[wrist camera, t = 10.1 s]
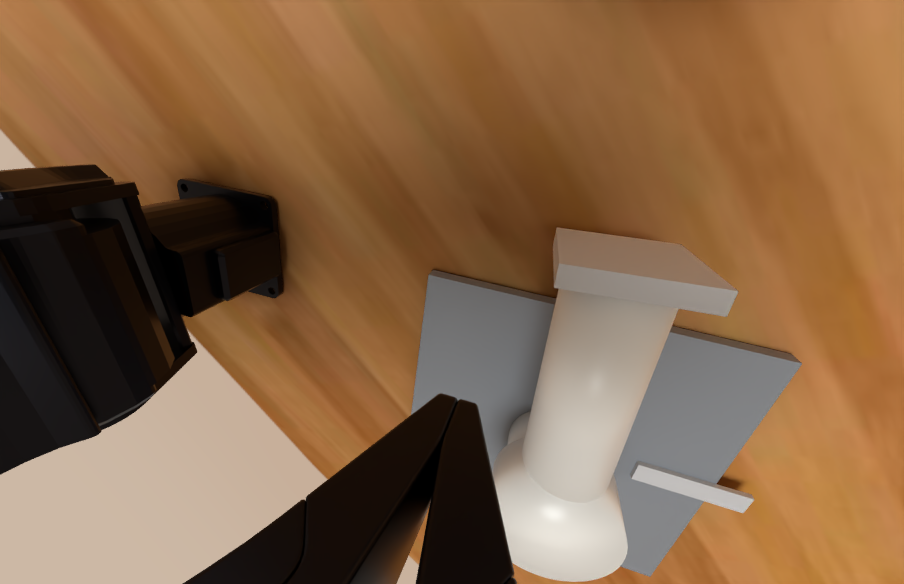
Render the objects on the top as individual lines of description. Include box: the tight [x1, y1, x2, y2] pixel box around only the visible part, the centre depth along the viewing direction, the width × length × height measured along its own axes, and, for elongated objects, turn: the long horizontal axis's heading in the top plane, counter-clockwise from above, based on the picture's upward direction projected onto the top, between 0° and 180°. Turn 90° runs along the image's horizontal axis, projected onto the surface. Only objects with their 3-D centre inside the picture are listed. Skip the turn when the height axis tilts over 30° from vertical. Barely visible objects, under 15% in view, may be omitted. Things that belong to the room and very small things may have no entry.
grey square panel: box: [411, 270, 802, 577], centre depth 20 cm, size 20×20×3 cm
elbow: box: [492, 228, 738, 582], centre depth 16 cm, size 17×6×5 cm, turn 175°
